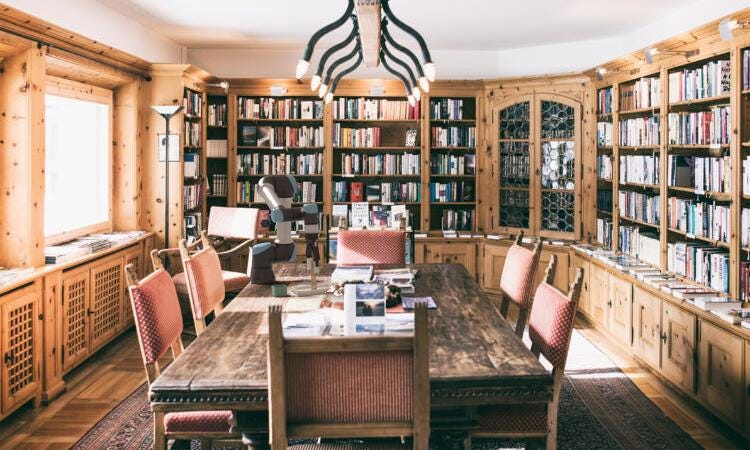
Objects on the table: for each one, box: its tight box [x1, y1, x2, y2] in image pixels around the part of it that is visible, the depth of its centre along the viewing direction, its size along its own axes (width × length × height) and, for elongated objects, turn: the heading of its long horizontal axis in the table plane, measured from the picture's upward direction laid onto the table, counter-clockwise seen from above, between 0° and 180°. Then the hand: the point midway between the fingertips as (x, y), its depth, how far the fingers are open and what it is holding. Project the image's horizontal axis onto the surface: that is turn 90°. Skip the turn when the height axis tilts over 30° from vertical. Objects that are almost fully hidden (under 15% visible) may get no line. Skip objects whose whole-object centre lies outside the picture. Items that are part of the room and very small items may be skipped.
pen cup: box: [271, 284, 288, 297], centre depth 368 cm, size 7×7×5 cm
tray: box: [290, 282, 333, 297], centre depth 374 cm, size 16×22×2 cm
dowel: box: [310, 259, 317, 290], centre depth 373 cm, size 3×3×16 cm
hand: (313, 271), depth 373 cm, fingers open, 13 cm apart
